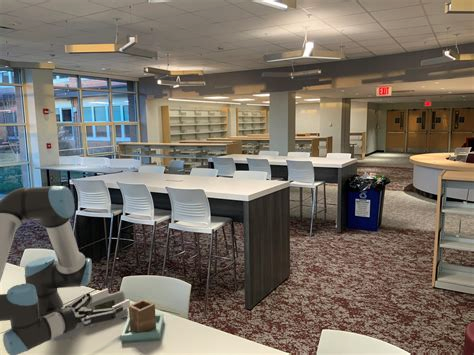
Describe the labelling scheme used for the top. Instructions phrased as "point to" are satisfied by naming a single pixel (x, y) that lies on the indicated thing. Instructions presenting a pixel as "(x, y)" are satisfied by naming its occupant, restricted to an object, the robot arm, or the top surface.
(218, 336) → the top surface
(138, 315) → the wooden pen holder
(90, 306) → the digital clock
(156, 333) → the tray
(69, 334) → the post base
